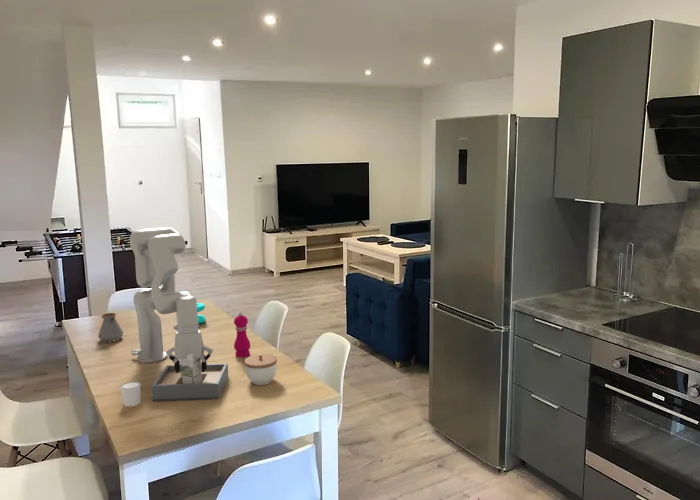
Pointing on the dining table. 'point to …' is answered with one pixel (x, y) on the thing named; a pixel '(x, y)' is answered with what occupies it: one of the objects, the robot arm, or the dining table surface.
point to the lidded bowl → (261, 368)
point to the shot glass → (131, 393)
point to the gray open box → (174, 390)
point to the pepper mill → (241, 337)
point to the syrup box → (191, 370)
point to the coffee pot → (110, 328)
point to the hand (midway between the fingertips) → (191, 371)
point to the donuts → (199, 308)
